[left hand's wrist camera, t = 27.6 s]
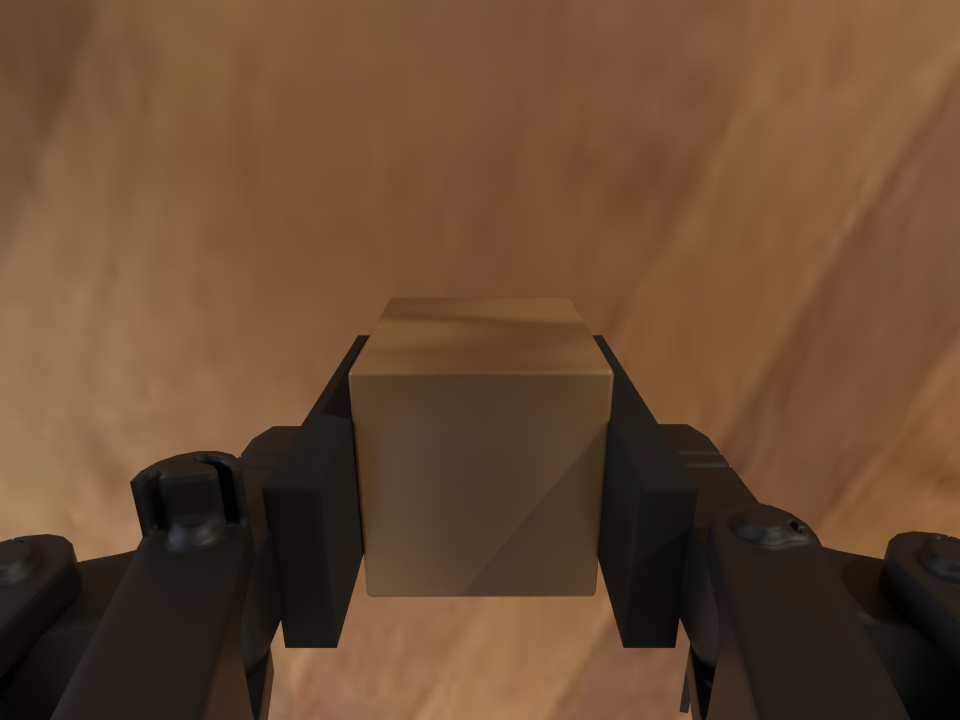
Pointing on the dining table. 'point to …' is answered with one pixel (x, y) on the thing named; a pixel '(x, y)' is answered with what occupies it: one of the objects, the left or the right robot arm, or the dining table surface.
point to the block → (480, 448)
